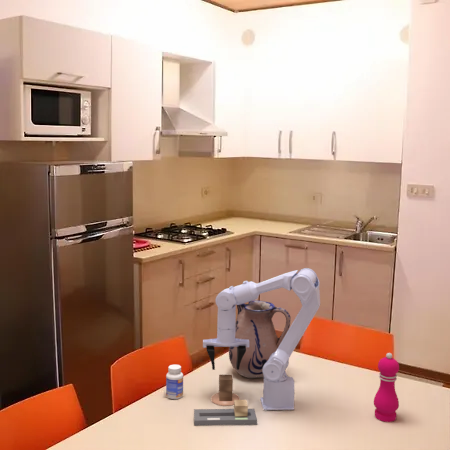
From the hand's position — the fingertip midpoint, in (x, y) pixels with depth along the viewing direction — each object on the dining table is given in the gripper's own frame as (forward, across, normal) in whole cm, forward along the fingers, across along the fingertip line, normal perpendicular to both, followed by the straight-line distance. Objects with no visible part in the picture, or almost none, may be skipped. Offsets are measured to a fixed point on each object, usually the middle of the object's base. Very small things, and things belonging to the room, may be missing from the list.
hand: (225, 368), depth 181 cm
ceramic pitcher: (+10, -13, -18) cm, 24 cm away
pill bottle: (+10, +16, -1) cm, 19 cm away
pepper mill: (+10, -47, +15) cm, 50 cm away
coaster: (+9, 0, +2) cm, 10 cm away
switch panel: (+9, +1, +15) cm, 18 cm away
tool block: (+9, 0, +2) cm, 9 cm away
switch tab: (+8, -4, +15) cm, 17 cm away
